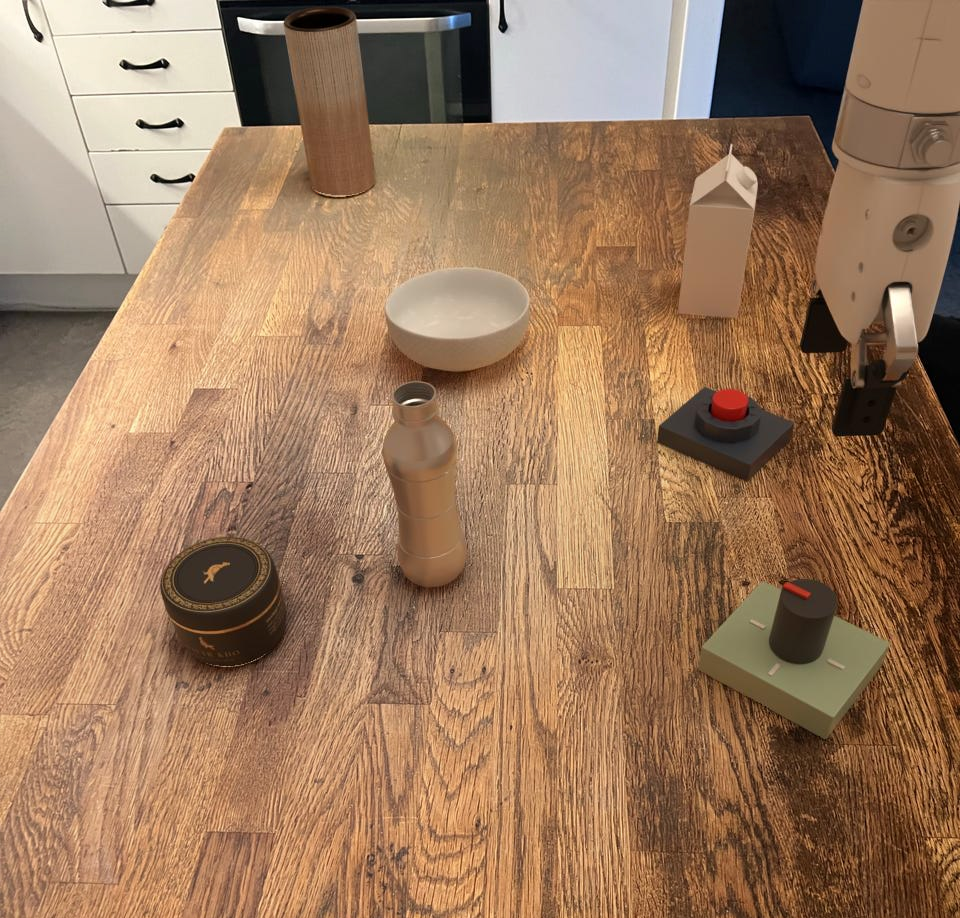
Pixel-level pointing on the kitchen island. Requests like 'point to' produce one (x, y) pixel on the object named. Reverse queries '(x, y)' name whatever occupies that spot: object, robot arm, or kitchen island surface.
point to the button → (729, 405)
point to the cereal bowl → (458, 317)
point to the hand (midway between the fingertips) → (838, 390)
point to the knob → (802, 620)
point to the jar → (225, 600)
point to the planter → (331, 99)
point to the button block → (725, 436)
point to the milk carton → (718, 239)
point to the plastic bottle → (424, 487)
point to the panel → (792, 665)
